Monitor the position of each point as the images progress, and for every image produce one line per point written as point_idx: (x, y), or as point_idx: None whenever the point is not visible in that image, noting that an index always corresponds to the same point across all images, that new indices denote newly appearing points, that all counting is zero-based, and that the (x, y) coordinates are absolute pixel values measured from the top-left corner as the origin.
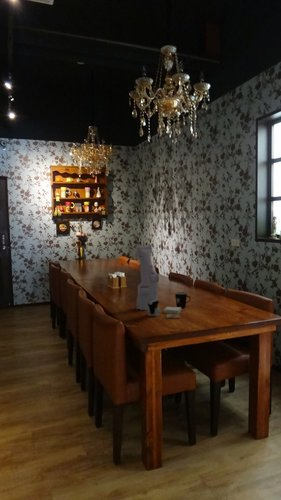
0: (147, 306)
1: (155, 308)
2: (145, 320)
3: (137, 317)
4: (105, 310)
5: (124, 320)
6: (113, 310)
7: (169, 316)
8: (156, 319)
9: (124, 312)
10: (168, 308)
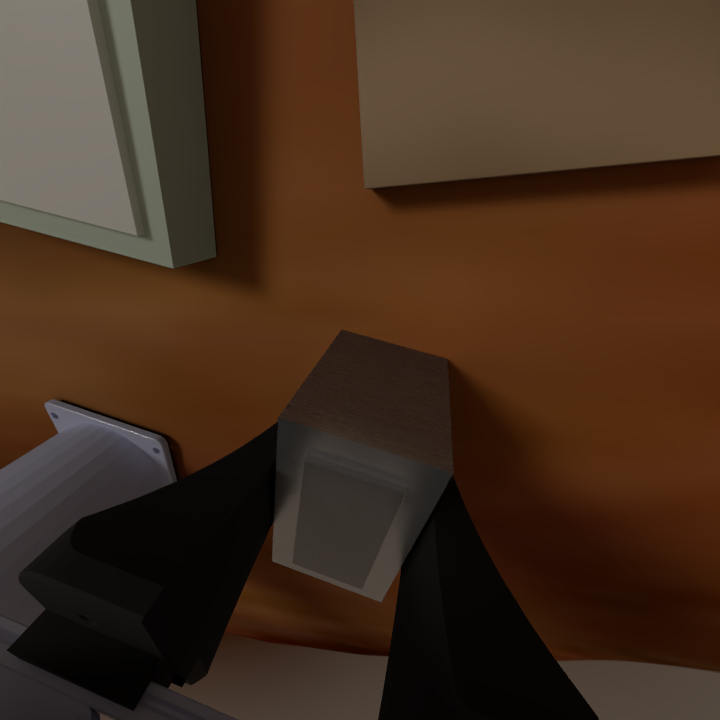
0: (118, 480)
1: (431, 512)
2: (673, 532)
3: None
4: (271, 641)
5: (577, 653)
6: (259, 619)
7: (679, 42)
8: (685, 394)
9: (296, 592)
10: (22, 143)
